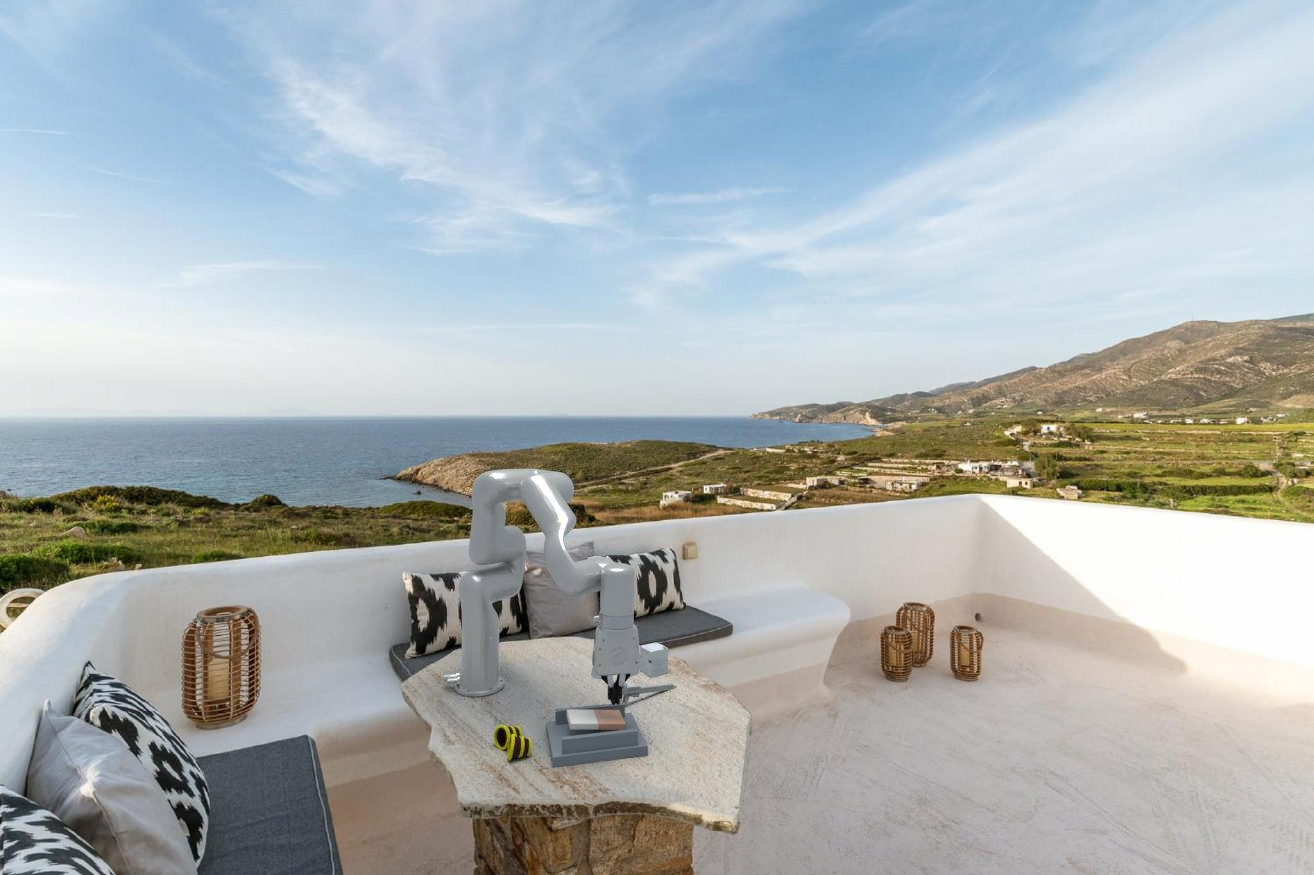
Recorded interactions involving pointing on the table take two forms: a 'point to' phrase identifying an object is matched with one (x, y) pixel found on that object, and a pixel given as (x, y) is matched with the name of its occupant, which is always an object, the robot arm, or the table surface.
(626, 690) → the caliper
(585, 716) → the two-tone peach white tile
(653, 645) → the skincare box
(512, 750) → the opera glasses
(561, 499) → the robot arm
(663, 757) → the table surface
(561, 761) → the grey piece
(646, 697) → the table surface
